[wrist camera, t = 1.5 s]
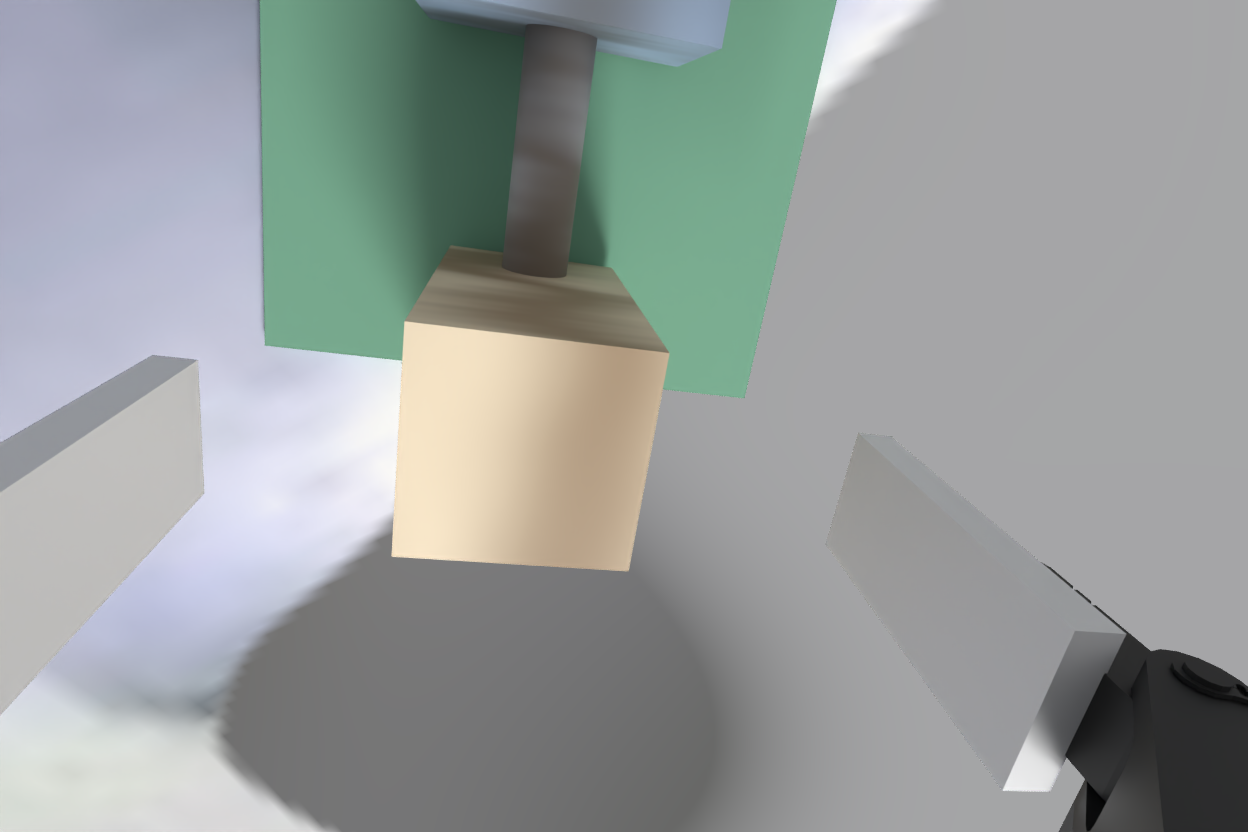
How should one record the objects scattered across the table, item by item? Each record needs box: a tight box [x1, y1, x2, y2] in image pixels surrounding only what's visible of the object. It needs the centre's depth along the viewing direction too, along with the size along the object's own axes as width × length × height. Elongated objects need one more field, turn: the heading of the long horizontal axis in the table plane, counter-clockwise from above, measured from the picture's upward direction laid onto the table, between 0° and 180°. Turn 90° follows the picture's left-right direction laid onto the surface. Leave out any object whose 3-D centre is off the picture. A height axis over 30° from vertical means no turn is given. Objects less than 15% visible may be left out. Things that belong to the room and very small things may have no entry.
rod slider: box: [392, 0, 731, 571], centre depth 17 cm, size 7×12×10 cm, turn 171°
